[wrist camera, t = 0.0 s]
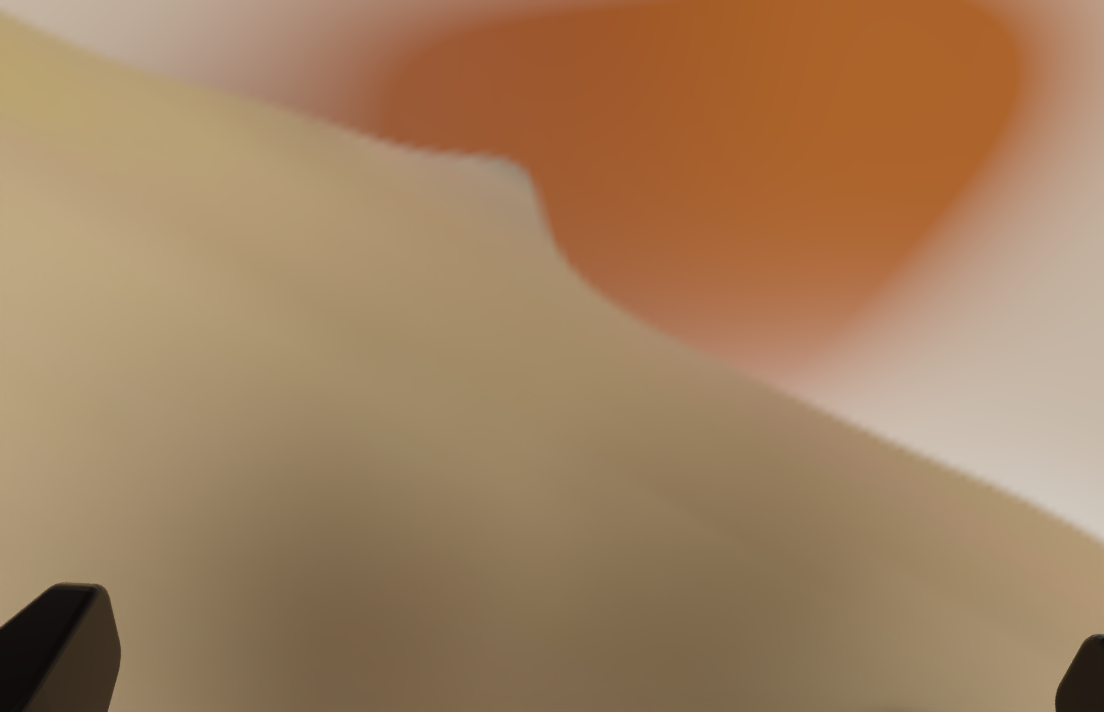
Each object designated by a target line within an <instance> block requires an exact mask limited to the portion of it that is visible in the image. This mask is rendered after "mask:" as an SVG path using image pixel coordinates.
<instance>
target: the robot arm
mask: <svg viewBox="0 0 1104 712" xmlns="http://www.w3.org/2000/svg"><path fill="white" fill-rule="evenodd" d="M120 659H121V646H120V641H119V636H118V632H117V628H116V623H115V619H114V615H113V610H112V606H111V602H110V597H109V595H108V592H107V590H106V589H105V588H104V587H103V586H102V585H98V584H86V583H58V584H55V585H53V586H51V587H49V588H48V589H47V590H45V591H44V592H43V593H42V594H40V595H39V596H38V597H37V598H36V599H34V600H33V601H32V602H31V603H29V604H28V605H27V606H26V607H24V608H23V609H22V610H21V611H20V612H18V613H17V614H16V615H15V616H13V617H12V618H11V619H10V620H8V621H7V622H6V623H5V624H4V625H2V626H1V627H0V712H108V708H109V705H110V701H111V697H112V694H113V690H114V687H115V683H116V679H117V676H118V672H119V667H120ZM1055 708H1056V712H1104V634H1095V635H1092V636H1090V637H1088V638H1087V639H1086V640H1085V641H1084V642H1083V643H1082V645H1081V647H1080V649H1079V650H1078V652H1077V654H1076V656H1075V658H1074V659H1073V661H1072V663H1071V665H1070V666H1069V668H1068V670H1067V672H1066V674H1065V675H1064V677H1063V679H1062V681H1061V682H1060V684H1059V686H1058V689H1057V693H1056V698H1055Z"/></svg>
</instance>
